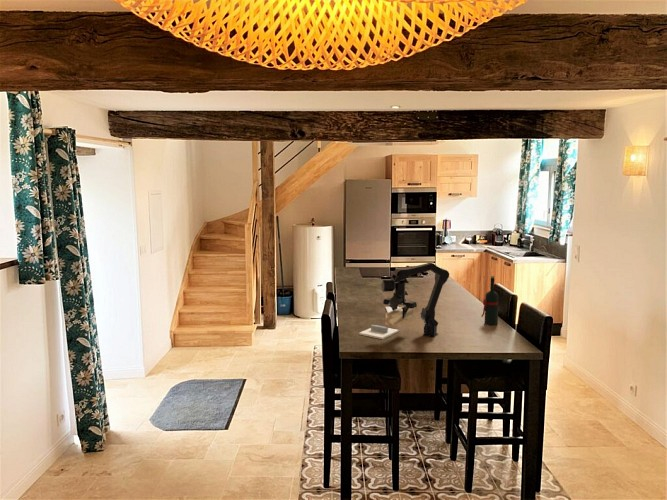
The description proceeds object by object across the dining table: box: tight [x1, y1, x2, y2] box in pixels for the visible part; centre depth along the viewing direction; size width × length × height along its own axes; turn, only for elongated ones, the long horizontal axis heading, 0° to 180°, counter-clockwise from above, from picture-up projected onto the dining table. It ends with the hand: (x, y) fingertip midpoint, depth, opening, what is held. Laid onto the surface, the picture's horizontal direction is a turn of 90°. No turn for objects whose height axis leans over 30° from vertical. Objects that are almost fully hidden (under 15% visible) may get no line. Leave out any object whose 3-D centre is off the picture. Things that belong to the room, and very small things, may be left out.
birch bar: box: [384, 305, 414, 326], centre depth 290 cm, size 4×24×6 cm, turn 144°
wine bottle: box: [481, 275, 499, 326], centre depth 315 cm, size 8×10×30 cm
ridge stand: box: [358, 324, 400, 340], centre depth 300 cm, size 16×18×4 cm
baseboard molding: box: [385, 306, 401, 313], centre depth 343 cm, size 31×3×12 cm
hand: (399, 317), depth 290 cm, fingers closed on birch bar, 4 cm apart
